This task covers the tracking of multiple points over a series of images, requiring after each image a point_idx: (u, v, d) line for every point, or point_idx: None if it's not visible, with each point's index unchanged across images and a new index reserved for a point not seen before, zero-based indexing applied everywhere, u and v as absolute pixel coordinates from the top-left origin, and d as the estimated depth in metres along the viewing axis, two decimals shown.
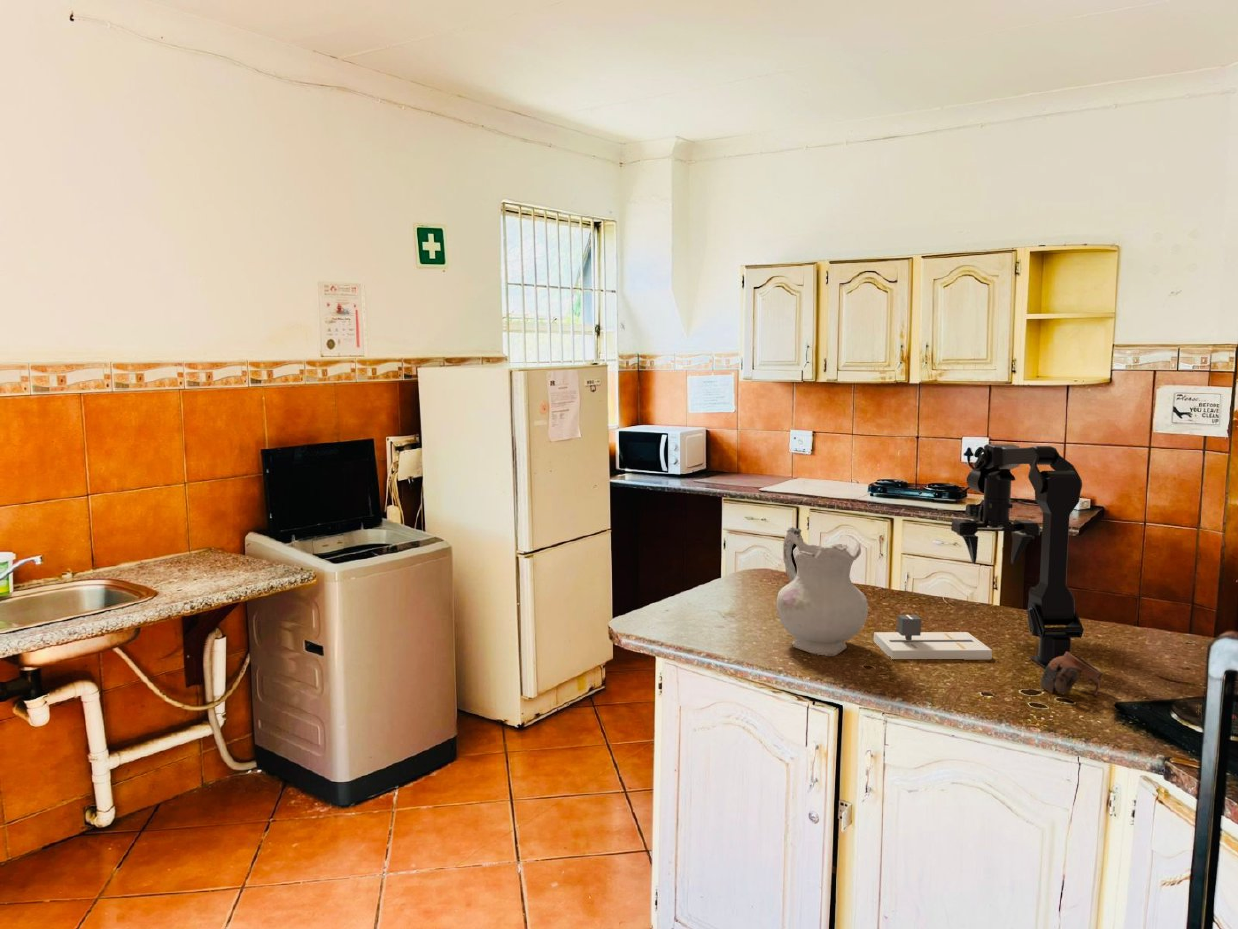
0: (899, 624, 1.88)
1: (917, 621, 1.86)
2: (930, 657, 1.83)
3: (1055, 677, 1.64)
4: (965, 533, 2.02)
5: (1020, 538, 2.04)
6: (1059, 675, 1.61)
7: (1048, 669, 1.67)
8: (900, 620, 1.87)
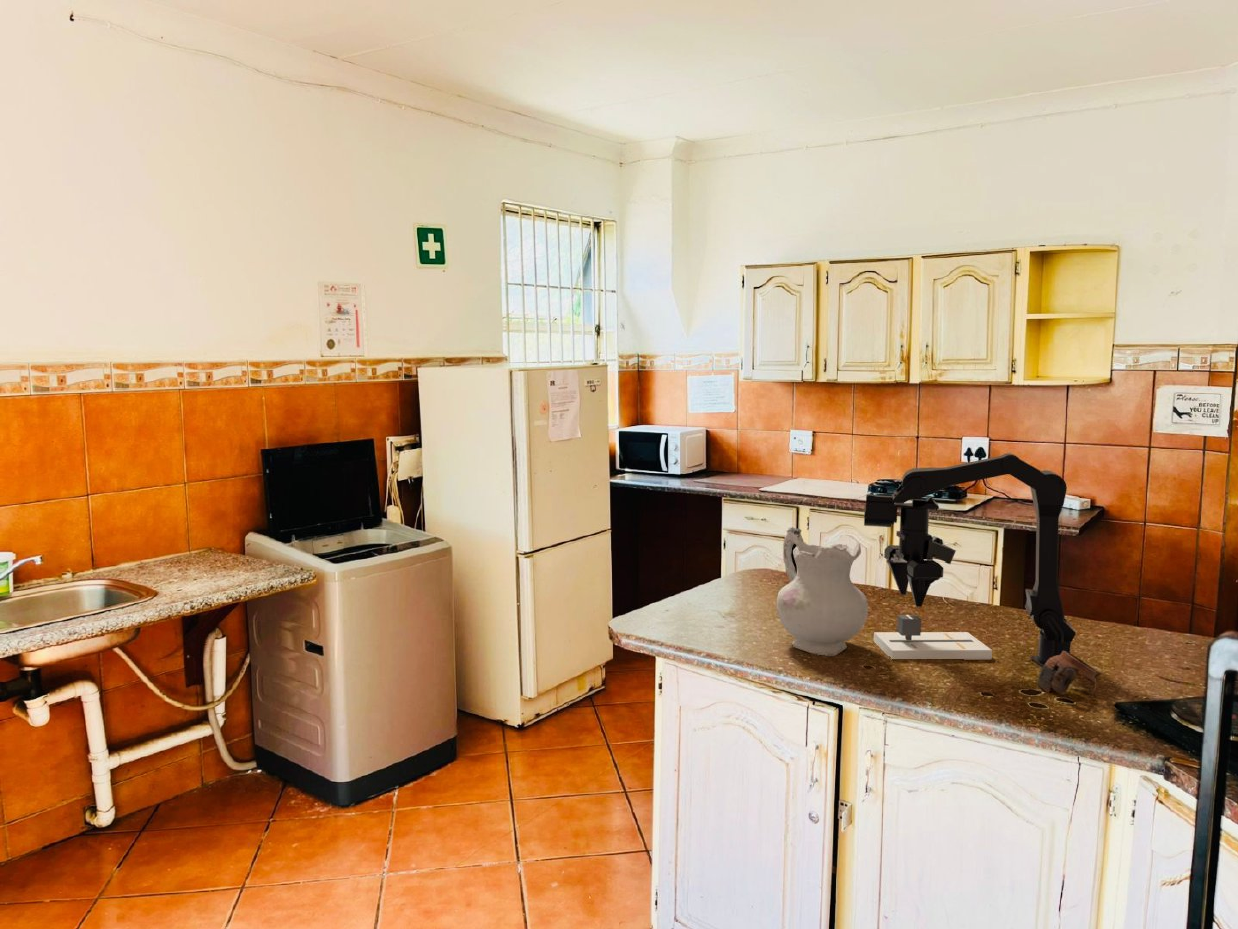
0: (899, 624, 1.88)
1: (917, 621, 1.86)
2: (930, 657, 1.83)
3: (1052, 676, 1.65)
4: (885, 556, 1.94)
5: None
6: (1056, 674, 1.62)
7: (1045, 668, 1.67)
8: (900, 620, 1.87)
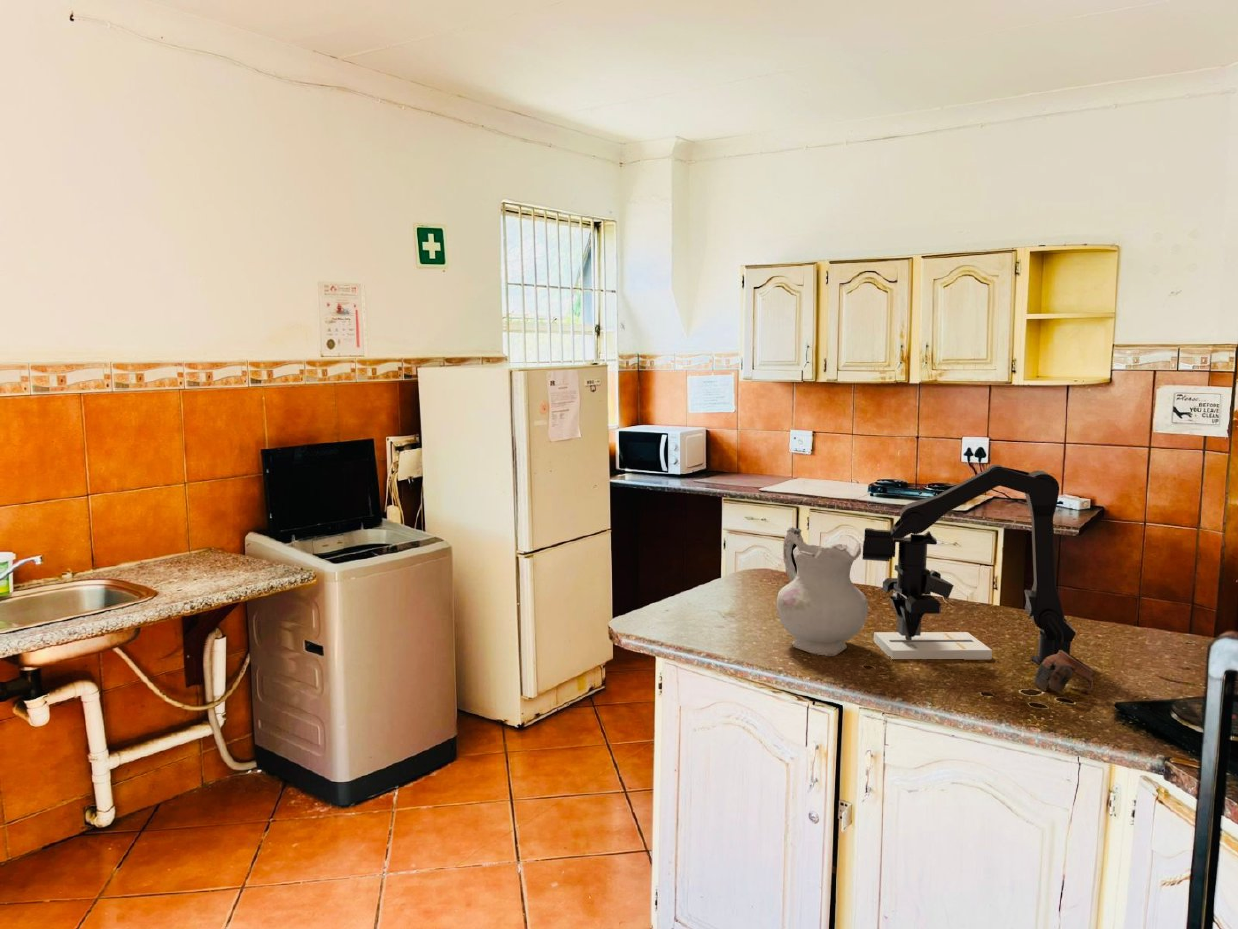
0: (899, 624, 1.88)
1: None
2: (930, 657, 1.83)
3: (1049, 675, 1.65)
4: (883, 589, 1.95)
5: None
6: (1053, 673, 1.62)
7: (1042, 667, 1.68)
8: (900, 620, 1.87)
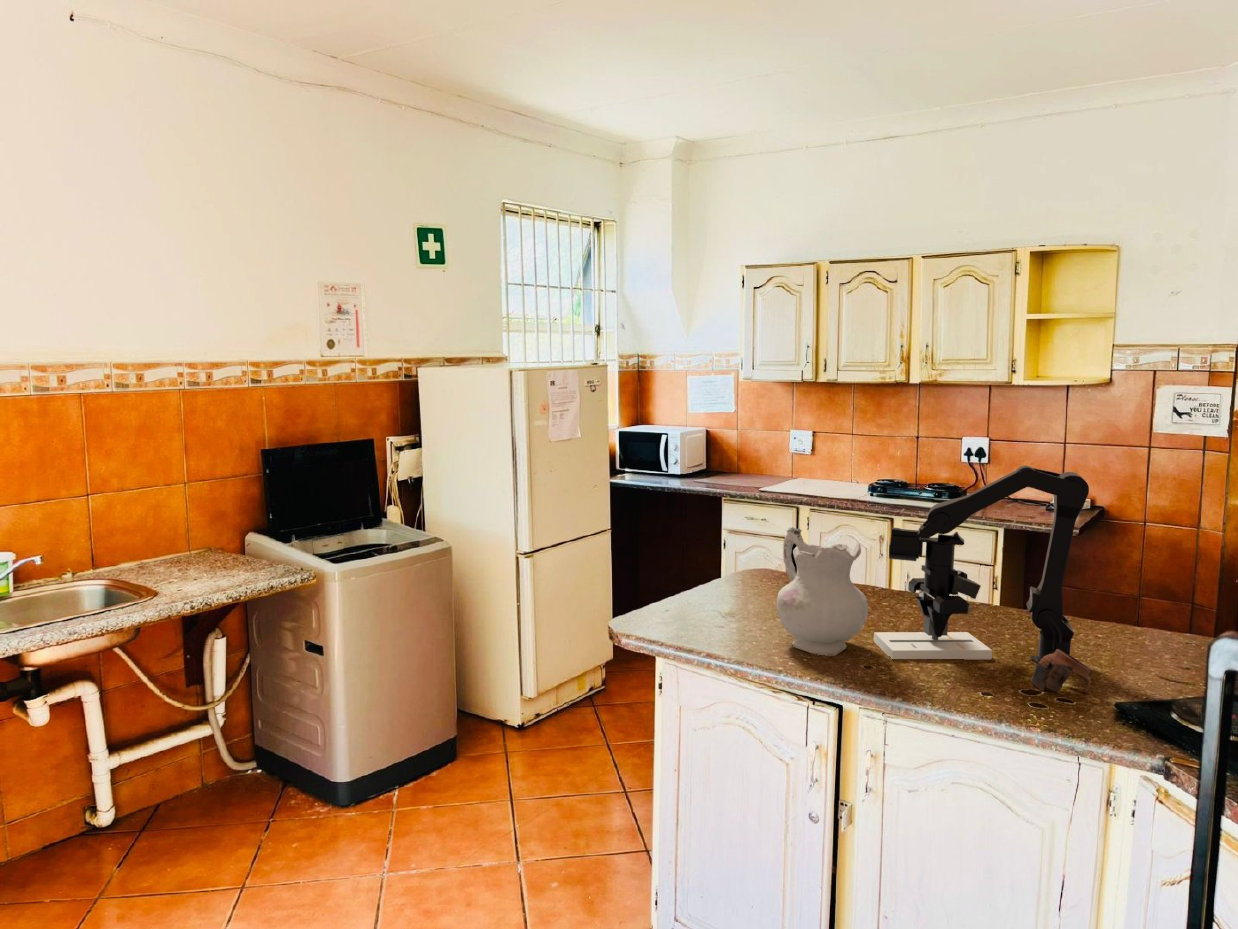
0: (926, 624, 1.88)
1: None
2: (930, 657, 1.83)
3: (1046, 674, 1.66)
4: (909, 589, 1.95)
5: None
6: (1051, 673, 1.62)
7: (1039, 667, 1.68)
8: (927, 620, 1.88)
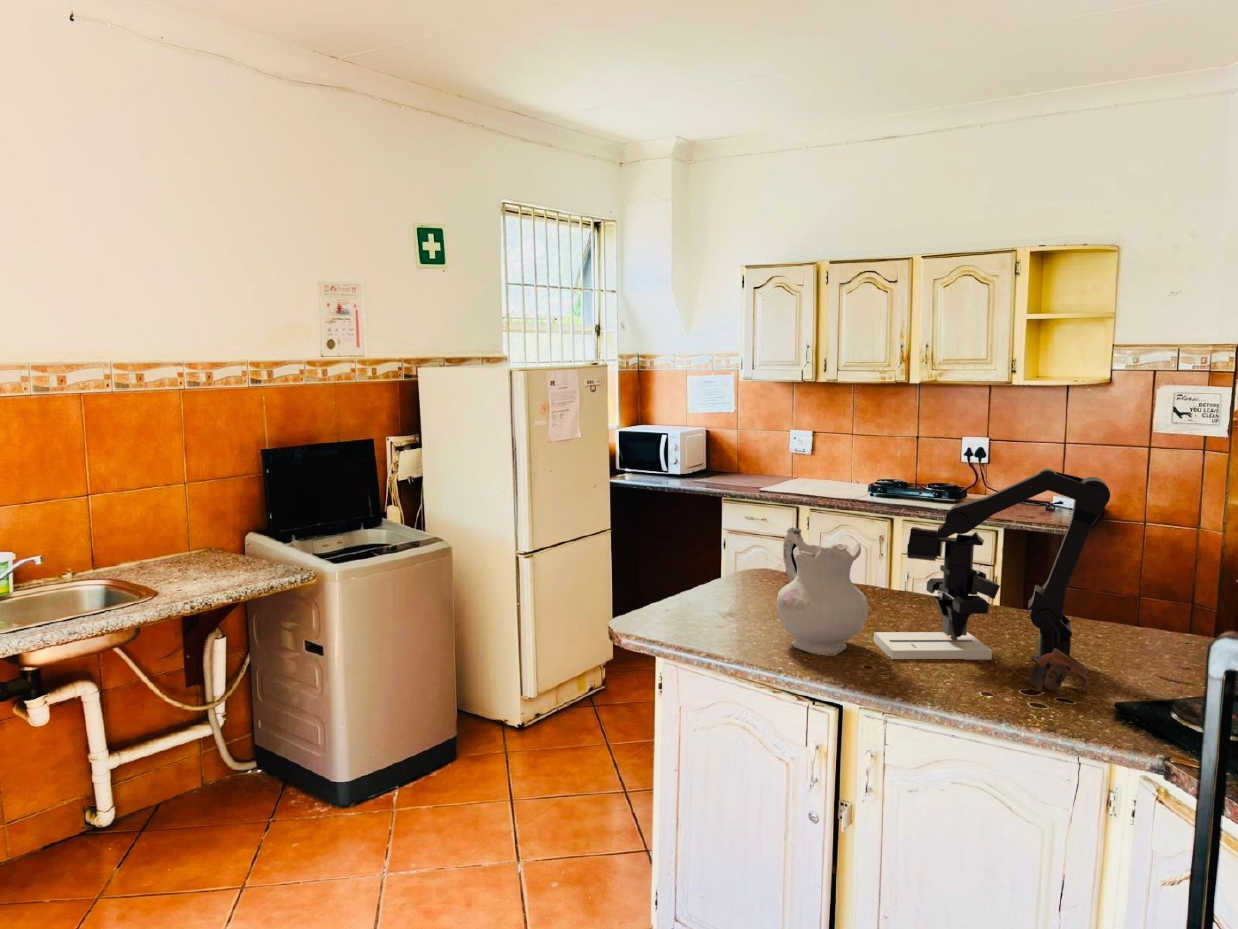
0: (945, 624, 1.88)
1: None
2: (930, 657, 1.83)
3: (1044, 674, 1.66)
4: (927, 589, 1.96)
5: None
6: (1049, 672, 1.63)
7: (1037, 666, 1.68)
8: (946, 620, 1.88)
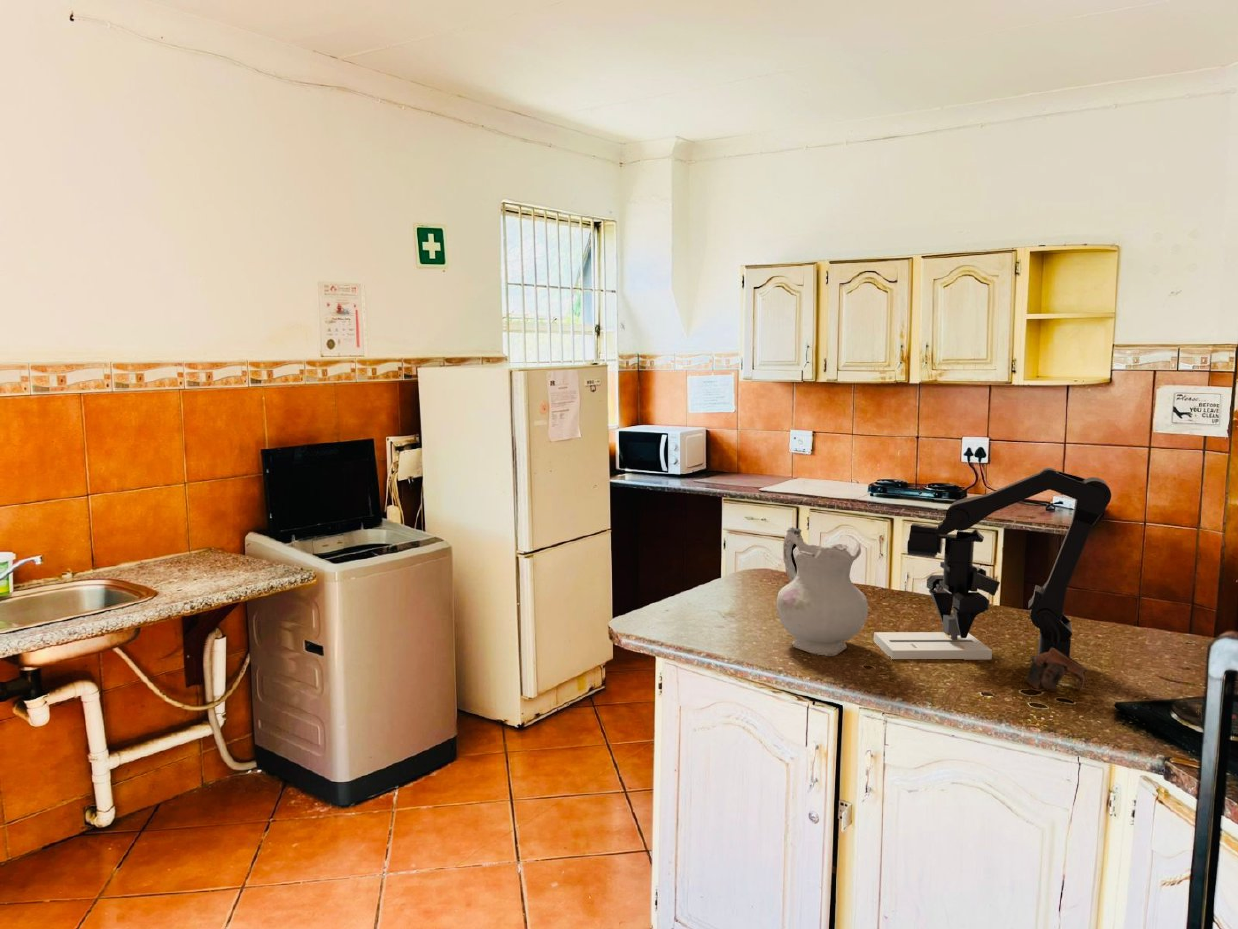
0: (945, 624, 1.88)
1: None
2: (930, 657, 1.83)
3: (1041, 673, 1.66)
4: (927, 586, 1.96)
5: None
6: (1046, 671, 1.63)
7: (1034, 665, 1.69)
8: (946, 620, 1.88)
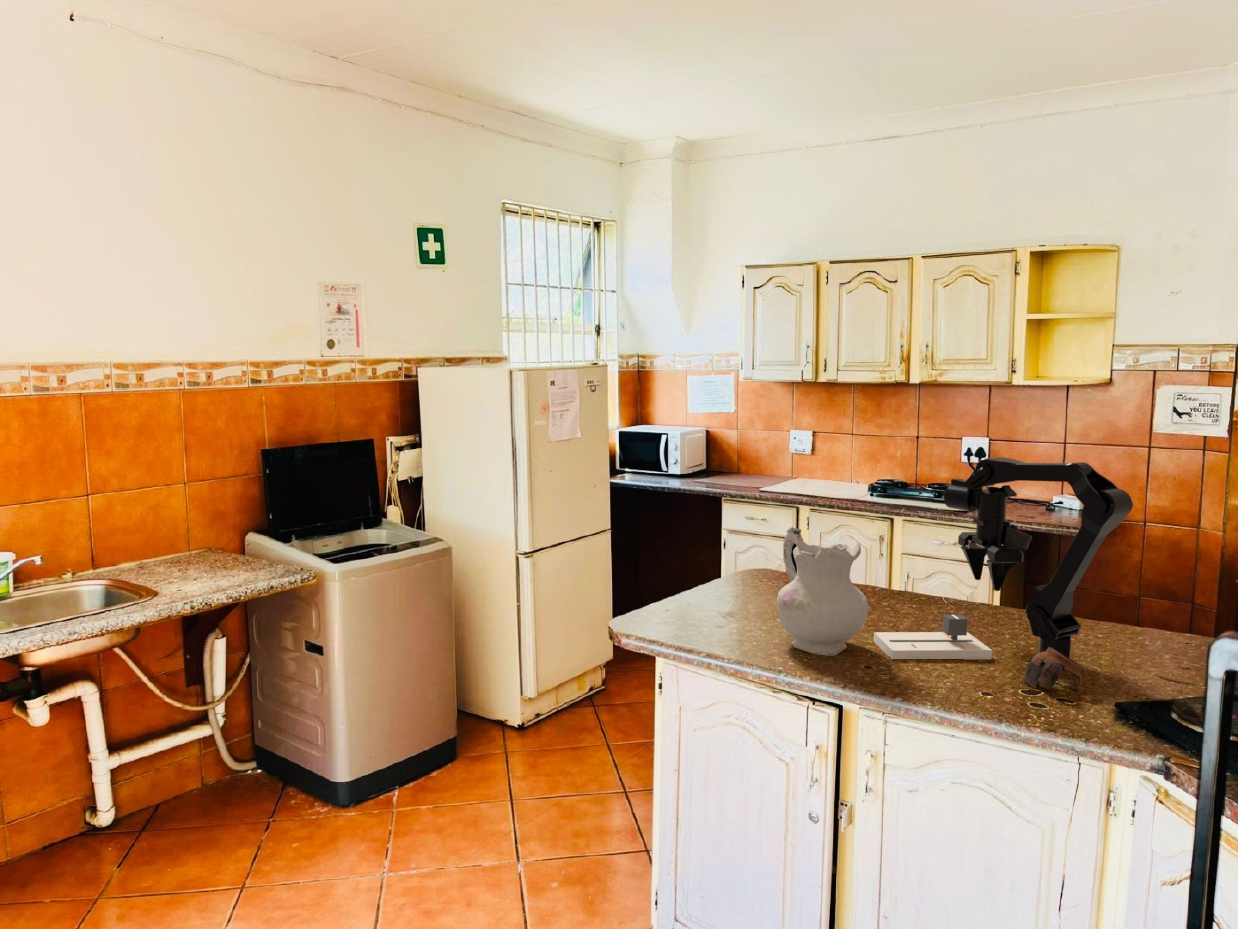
0: (945, 624, 1.88)
1: (964, 621, 1.87)
2: (930, 657, 1.83)
3: (1039, 672, 1.67)
4: (959, 542, 2.00)
5: None
6: (1043, 670, 1.63)
7: (1031, 665, 1.69)
8: (946, 620, 1.88)
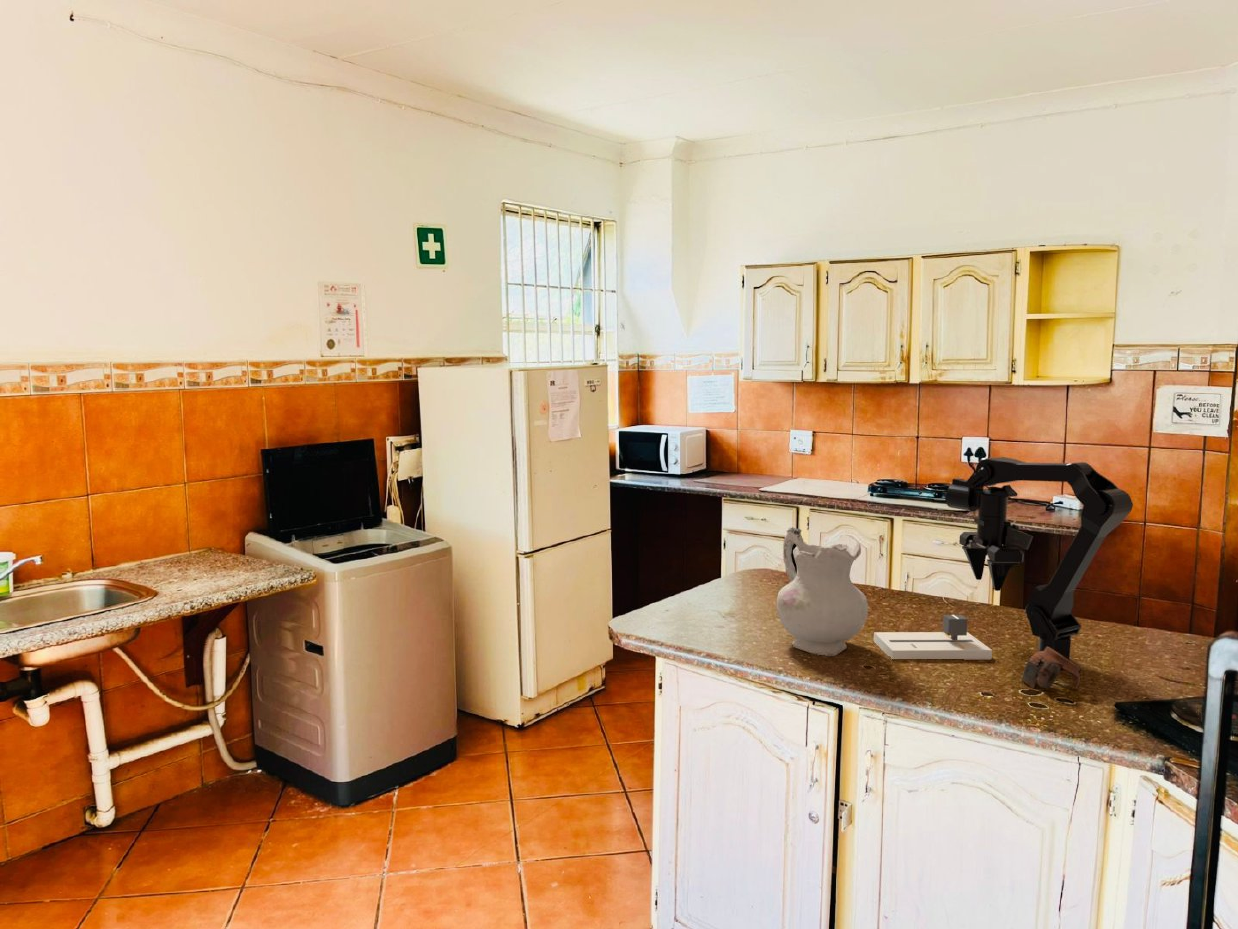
0: (945, 624, 1.88)
1: (964, 621, 1.87)
2: (930, 657, 1.83)
3: (1037, 672, 1.67)
4: (960, 542, 2.00)
5: None
6: (1042, 670, 1.64)
7: (1030, 664, 1.69)
8: (946, 620, 1.88)
